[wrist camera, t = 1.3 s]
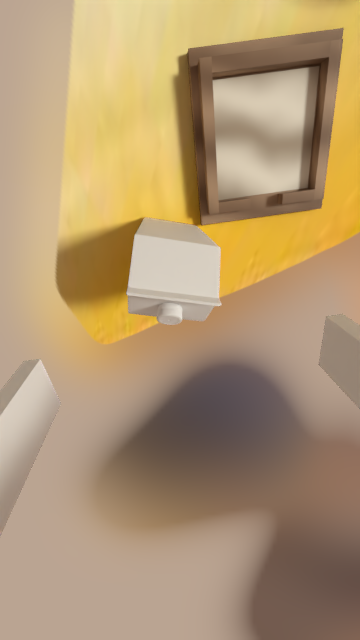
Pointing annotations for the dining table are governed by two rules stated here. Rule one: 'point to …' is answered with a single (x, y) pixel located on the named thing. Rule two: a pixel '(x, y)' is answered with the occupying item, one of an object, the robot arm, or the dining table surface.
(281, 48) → the brown picture frame
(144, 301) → the milk carton
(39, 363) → the robot arm
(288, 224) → the dining table surface
